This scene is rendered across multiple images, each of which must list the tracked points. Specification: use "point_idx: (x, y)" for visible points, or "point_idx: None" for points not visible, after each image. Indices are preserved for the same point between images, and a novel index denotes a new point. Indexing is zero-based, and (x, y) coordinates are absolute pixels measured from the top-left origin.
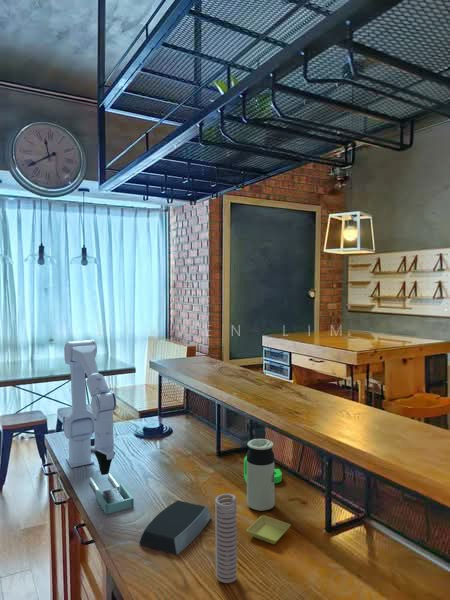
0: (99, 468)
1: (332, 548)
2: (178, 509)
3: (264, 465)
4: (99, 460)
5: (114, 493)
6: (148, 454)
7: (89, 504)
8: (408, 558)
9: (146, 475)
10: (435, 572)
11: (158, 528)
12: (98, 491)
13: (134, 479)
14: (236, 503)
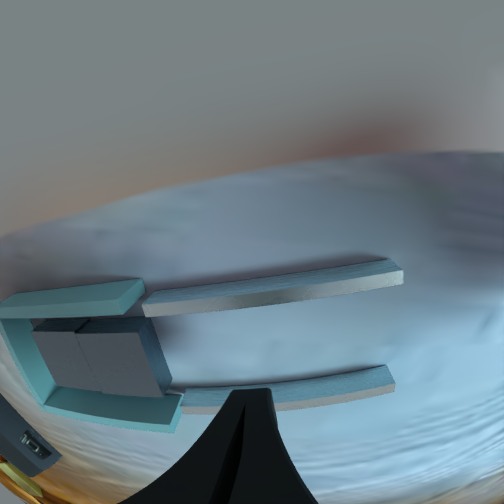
0: (267, 414)
1: (13, 482)
2: (4, 444)
3: None
4: (124, 502)
5: (104, 374)
6: (467, 468)
7: (87, 235)
8: (17, 494)
9: (310, 482)
10: (7, 488)
11: None
12: (97, 309)
13: (297, 455)
14: None
